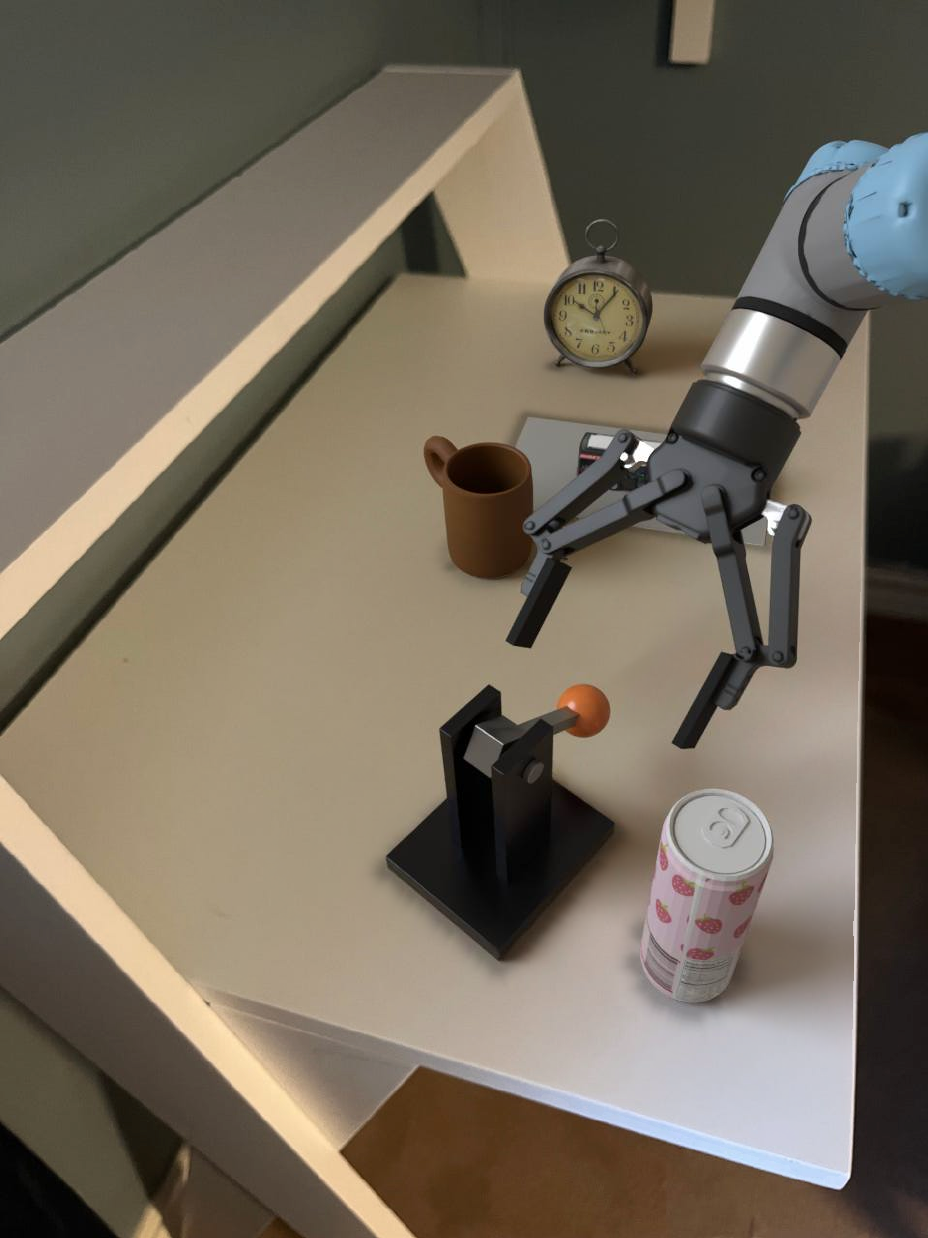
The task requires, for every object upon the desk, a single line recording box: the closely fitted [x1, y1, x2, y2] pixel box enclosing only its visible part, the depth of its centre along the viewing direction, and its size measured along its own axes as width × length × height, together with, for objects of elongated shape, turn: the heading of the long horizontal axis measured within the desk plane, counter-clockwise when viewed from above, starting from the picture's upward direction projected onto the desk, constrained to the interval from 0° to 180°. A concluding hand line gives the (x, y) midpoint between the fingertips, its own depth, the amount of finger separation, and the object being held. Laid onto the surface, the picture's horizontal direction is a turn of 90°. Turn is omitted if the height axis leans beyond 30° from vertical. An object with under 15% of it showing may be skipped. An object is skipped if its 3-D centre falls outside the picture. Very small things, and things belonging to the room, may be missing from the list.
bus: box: [514, 416, 772, 547], centre depth 91 cm, size 14×25×4 cm, turn 73°
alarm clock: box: [543, 218, 654, 375], centre depth 100 cm, size 11×5×16 cm, turn 73°
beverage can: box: [639, 788, 775, 1004], centre depth 54 cm, size 6×6×15 cm
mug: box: [423, 435, 534, 579], centre depth 84 cm, size 12×8×9 cm, turn 40°
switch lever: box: [464, 683, 611, 778], centre depth 61 cm, size 13×4×4 cm, turn 138°
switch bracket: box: [385, 683, 616, 962], centre depth 60 cm, size 12×10×14 cm
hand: (596, 693), depth 64 cm, fingers open, 13 cm apart
